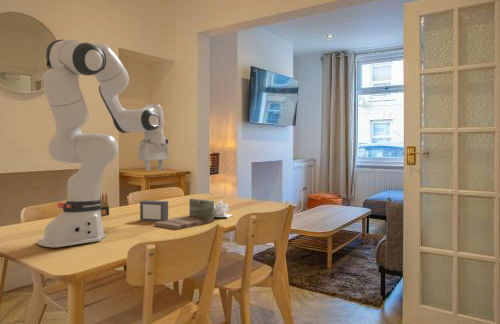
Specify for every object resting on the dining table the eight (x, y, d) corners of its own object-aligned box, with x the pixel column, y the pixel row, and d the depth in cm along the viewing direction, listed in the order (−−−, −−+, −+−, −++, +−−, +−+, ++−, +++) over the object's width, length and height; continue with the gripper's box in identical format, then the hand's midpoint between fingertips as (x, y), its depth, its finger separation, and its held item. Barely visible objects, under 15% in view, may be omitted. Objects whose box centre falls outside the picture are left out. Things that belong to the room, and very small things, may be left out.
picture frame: (163, 222, 163) (163, 202, 163) (140, 221, 166) (140, 201, 166) (168, 220, 167) (168, 201, 167) (145, 219, 170) (145, 200, 170)
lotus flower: (232, 219, 170) (232, 201, 170) (200, 219, 170) (200, 201, 170) (233, 214, 184) (233, 197, 184) (204, 214, 184) (204, 197, 184)
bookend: (177, 229, 146) (177, 206, 146) (154, 225, 154) (154, 203, 154) (214, 221, 164) (214, 200, 163) (191, 218, 172) (191, 198, 172)
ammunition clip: (90, 220, 168) (89, 194, 168) (87, 219, 169) (87, 193, 169) (109, 216, 178) (109, 192, 178) (106, 216, 179) (106, 192, 178)
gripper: (147, 138, 155) (147, 171, 155) (171, 140, 175) (171, 169, 175) (134, 139, 157) (134, 171, 157) (159, 140, 176) (159, 169, 177)
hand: (154, 170), depth 166 cm, fingers open, 8 cm apart
